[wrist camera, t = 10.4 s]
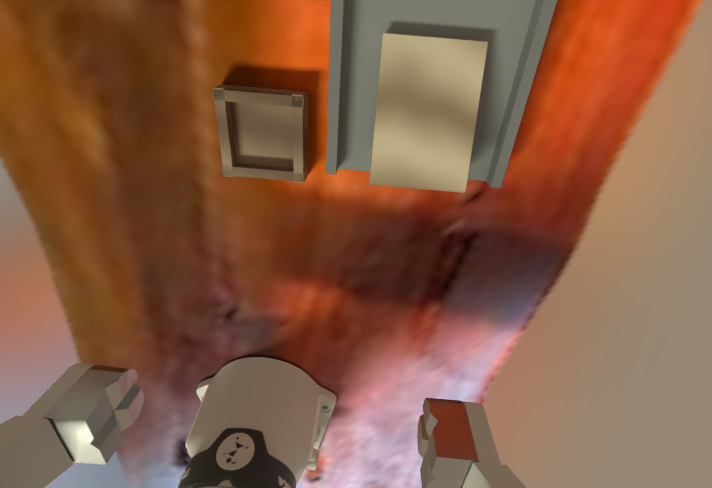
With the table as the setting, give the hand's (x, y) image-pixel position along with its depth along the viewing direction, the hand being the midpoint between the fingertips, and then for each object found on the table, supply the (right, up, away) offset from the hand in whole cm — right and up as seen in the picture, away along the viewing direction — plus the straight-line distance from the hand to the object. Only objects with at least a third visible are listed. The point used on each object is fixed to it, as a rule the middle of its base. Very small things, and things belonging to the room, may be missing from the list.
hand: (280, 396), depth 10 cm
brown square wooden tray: (-5, +14, +20) cm, 25 cm away
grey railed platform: (+7, +17, +17) cm, 25 cm away
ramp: (+7, +14, +17) cm, 23 cm away
